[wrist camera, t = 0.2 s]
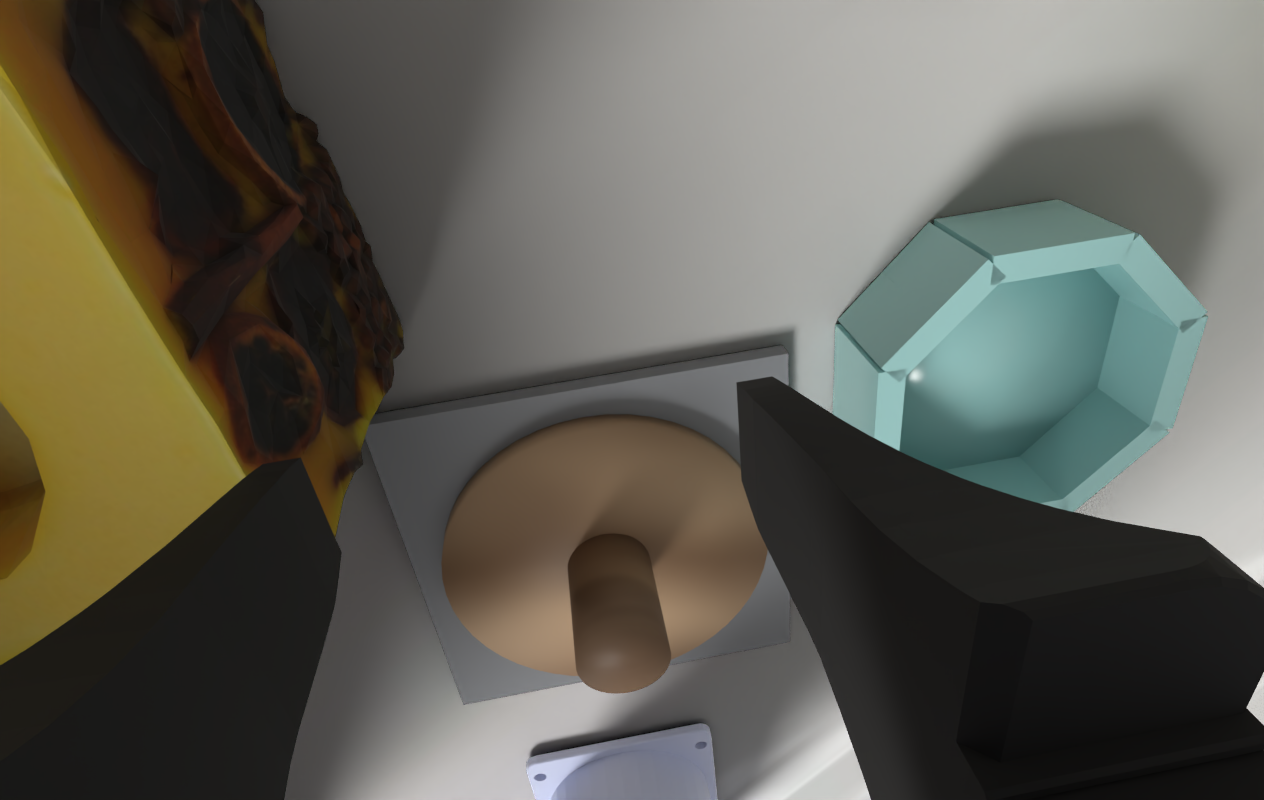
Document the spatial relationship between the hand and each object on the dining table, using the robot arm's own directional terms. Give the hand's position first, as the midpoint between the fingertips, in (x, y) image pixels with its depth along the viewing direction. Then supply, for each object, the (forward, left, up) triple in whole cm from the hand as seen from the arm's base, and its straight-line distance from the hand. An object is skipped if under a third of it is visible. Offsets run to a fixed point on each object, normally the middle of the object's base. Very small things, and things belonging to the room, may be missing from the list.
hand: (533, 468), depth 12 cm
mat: (-10, -1, -10) cm, 14 cm away
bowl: (-5, -14, -10) cm, 18 cm away
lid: (-10, -1, -9) cm, 14 cm away
